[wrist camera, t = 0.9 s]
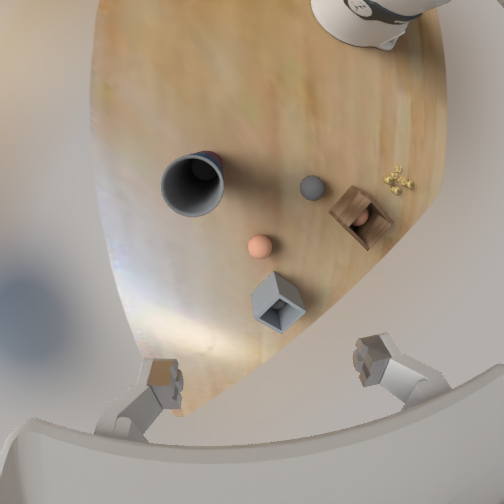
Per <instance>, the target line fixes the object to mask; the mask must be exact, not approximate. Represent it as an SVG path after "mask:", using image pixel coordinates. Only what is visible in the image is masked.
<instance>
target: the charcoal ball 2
mask: <svg viewBox="0 0 504 504" xmlns="http://www.w3.org/2000/svg"><path fill="white" fill-rule="evenodd" d="M300 191H301V194H302V195H303V196H304V197H305V198H306V199H308V200H311V201H315V200H318V199H320V198H321V197H322V196H323V195H324V192H325V185H324V182H323V181H322V180H321V179H320V178H319V177H317V176H308V177H306V178H304V179H303V181H302V182H301V185H300Z"/></svg>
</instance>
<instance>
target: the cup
mask: <svg viewBox="0 0 504 504" xmlns="http://www.w3.org/2000/svg"><path fill="white" fill-rule="evenodd" d="M161 192H162V196H163V198H164V200H165V202H166V203H167V205H168V206H169V207H170V208H171V209H172V210H173V211H175V212H176V213H178V214H180V215H183V216H187V217H199V216H203V215H205V214H208V213H209V212H211V211H212V210H213V209H214V208H215V207H216V206H217V205H218V204H219V202H220V201H221V198H222V196H223V192H224V179H223V171H222V163H221V160H220V158H219V157H218V156H217V155H216V154H215V153H213V152H211V151H201V152H197V153H194V154H190V155H186V156H182V157H180V158H178V159H176V160H175V161H173V162H172V163H171V164H170V165H169V166H168V167H167V168H166V170H165V172H164V174H163V176H162V180H161Z"/></svg>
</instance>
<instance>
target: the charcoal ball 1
mask: <svg viewBox="0 0 504 504" xmlns="http://www.w3.org/2000/svg"><path fill="white" fill-rule="evenodd" d="M285 304H286V302H285V301H283V300H282V299H280V298H279V299H278V300H277V301H276V302H275V303H274V304H273V305H272V306H271V308H273V309H280V308H282V307H283V306H285Z"/></svg>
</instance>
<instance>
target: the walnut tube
mask: <svg viewBox="0 0 504 504" xmlns="http://www.w3.org/2000/svg"><path fill="white" fill-rule="evenodd" d="M365 208H367V210H368V213H369V216H368V219H367V221H366V222H365V223H364V224H363V225H361V226H354V225H352V223H353V222H354V221H355V219H356V218H357V217H358V216H359V215H360V214H361V213H362V212H363V211H364V209H365ZM329 213H330V214H331V215H332V216H333V217H334V218H335V219H336V220H337V221H338V222H339V223H340V224H341V225H342V226H343V227H344V228H345V229H346V230H347V231H348V232H349V233H350V234H351V235H352V236H353V237H354V238H355V239H356V240H357V241H358V242H359V243H360V244H361V245H362V246H363V247H364V248H365V249H366V250H367V251H368V250H369V249H370V248H371V247H372V246H373V245H374V244H375V243H376V242H377V240H378V239H379V238H380V237H381V236H382V235H383V234H384V233H385V232H386V231H387V229H388V228H389V227H390V226H391V225H392V224H393V223H394V222H393V221H392V220H391V219H390V217H389V216H388V215H387V214H386V213H385V211H384V210H383V209H382V208H381V207H380V206H379V205H378V203H377V202H376V201H375V200H374V199H373V198H372V197H371V196H370V195H368V194H366V193H365V192H363V191H361V190H360V189H358V188H356V187H355V186H353V185H352V186H351V187H350V188H349V189H348V190H347V192H346V193H345V194H344V195H343V196H342V197H341V198H340V199H339V200H338V202H337V203H336V204H335V205H334V206H333V207H332V208H331V209H330V210H329Z"/></svg>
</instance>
